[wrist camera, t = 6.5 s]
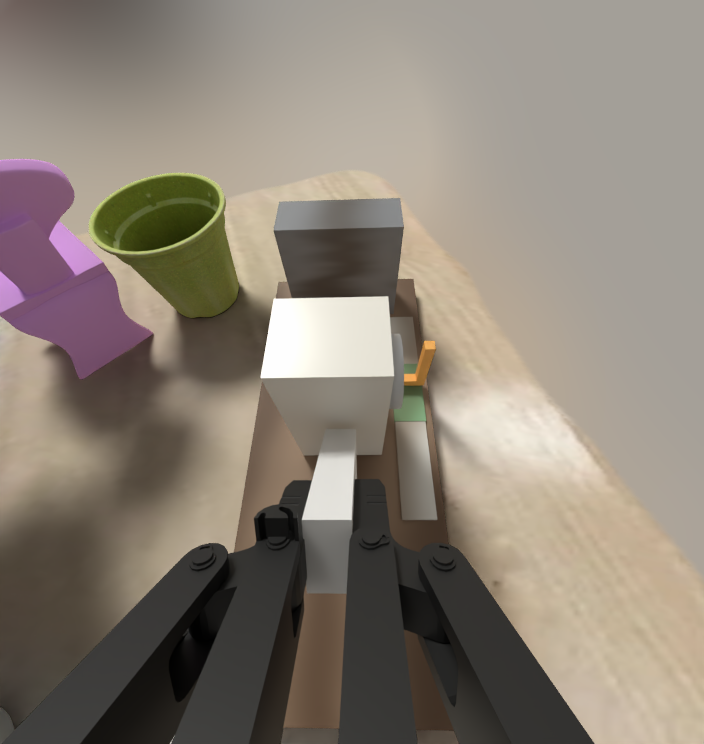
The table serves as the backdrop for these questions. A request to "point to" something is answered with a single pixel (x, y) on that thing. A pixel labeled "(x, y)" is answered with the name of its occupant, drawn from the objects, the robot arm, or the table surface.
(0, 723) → the reed diffuser
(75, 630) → the table surface
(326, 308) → the block
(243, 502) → the gauge board
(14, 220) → the toy chair
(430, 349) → the orange l-shaped piece
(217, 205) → the plant pot
